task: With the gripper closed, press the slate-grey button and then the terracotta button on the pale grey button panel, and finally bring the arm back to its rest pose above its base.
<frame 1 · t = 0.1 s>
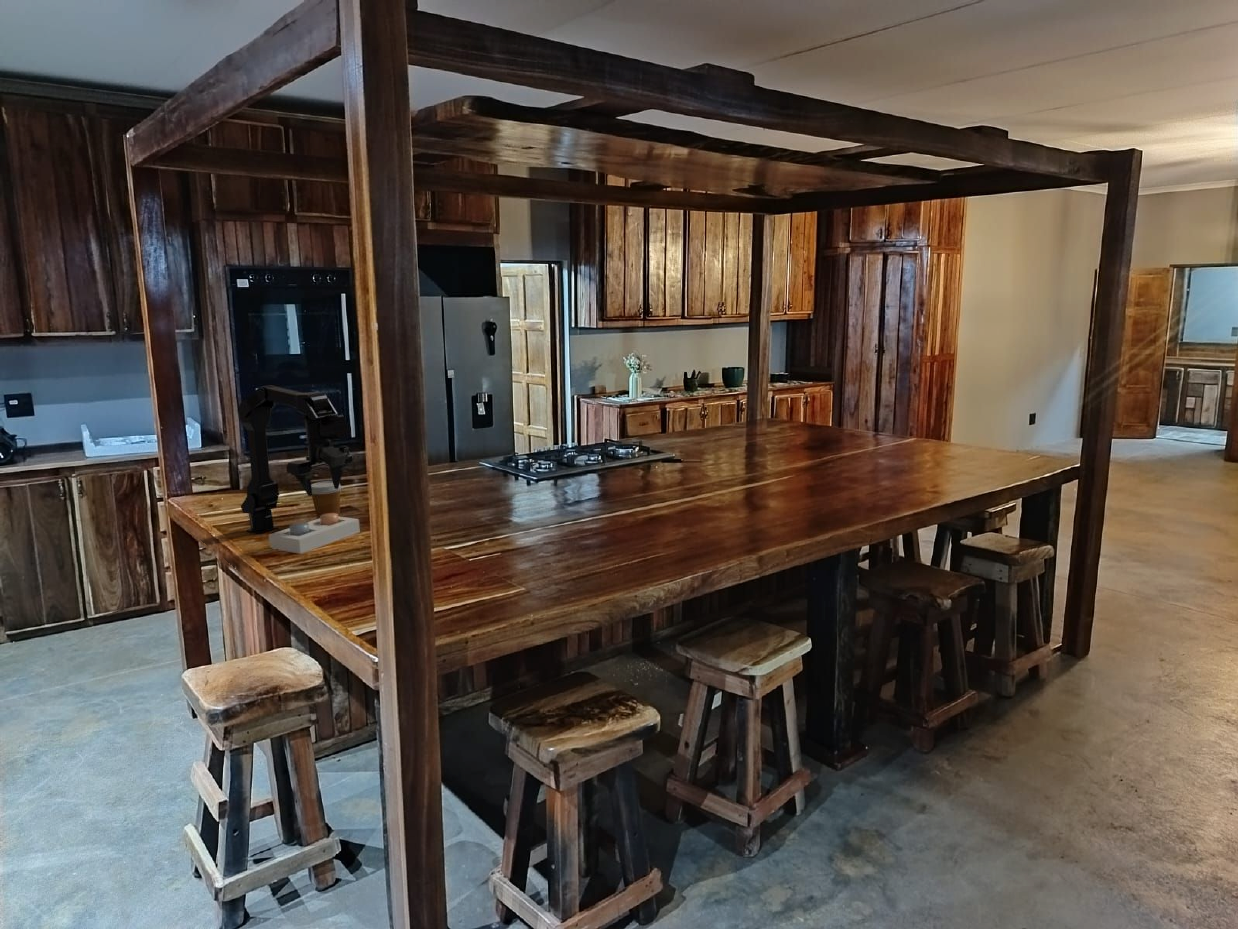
hand: (323, 492, 237), 14 cm above the table, tool pointing down, fingers open, 9 cm apart
terracotta button: (329, 520, 245), point 5 cm above the table, slide at 0.0 cm
button panel: (316, 540, 241), on the table
slate-grey button: (299, 530, 235), point 5 cm above the table, slide at 0.0 cm
disposable coffee cup: (329, 522, 260), on the table
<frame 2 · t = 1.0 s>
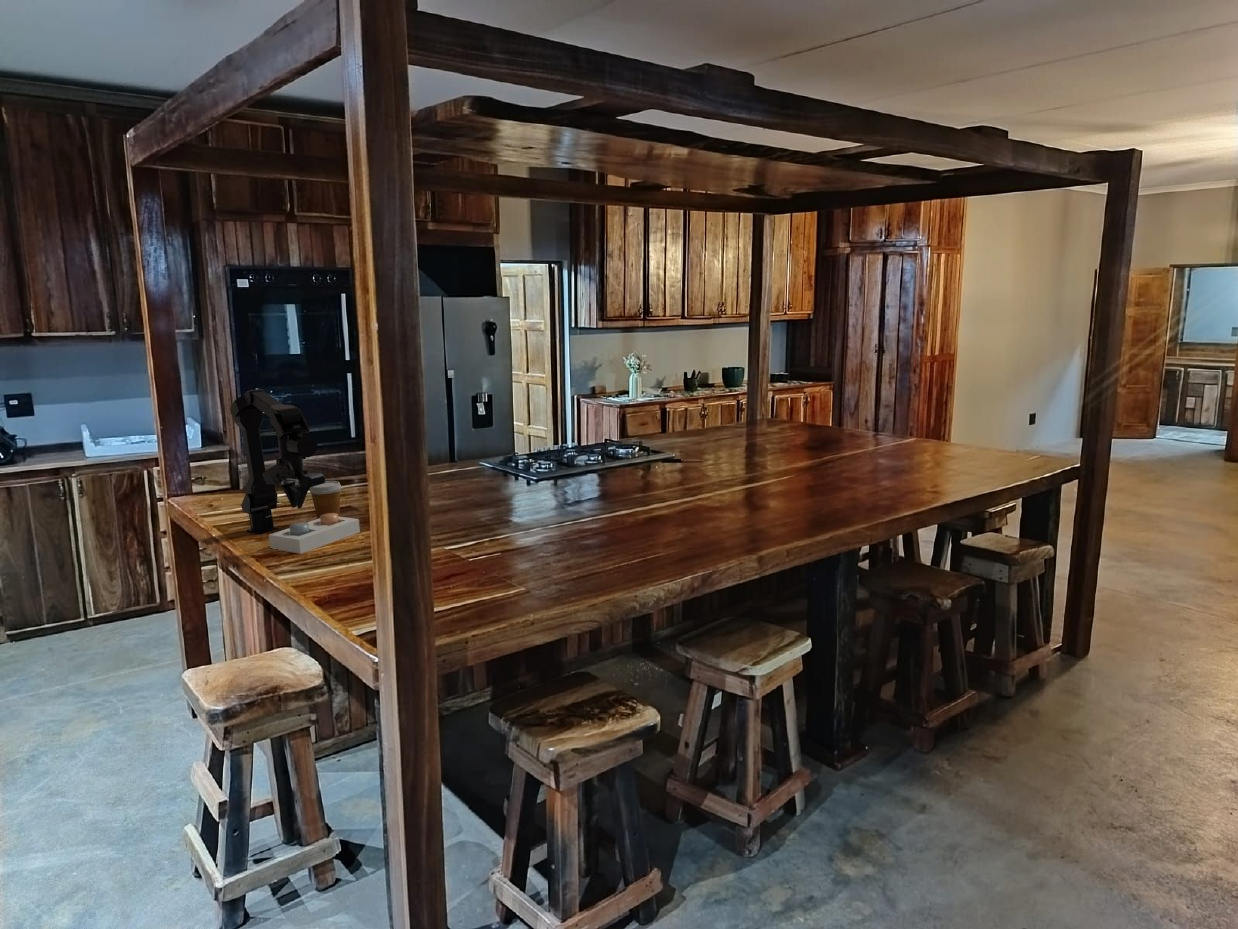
hand: (296, 507, 234), 11 cm above the table, tool pointing down, fingers closed
nothing on the table moved.
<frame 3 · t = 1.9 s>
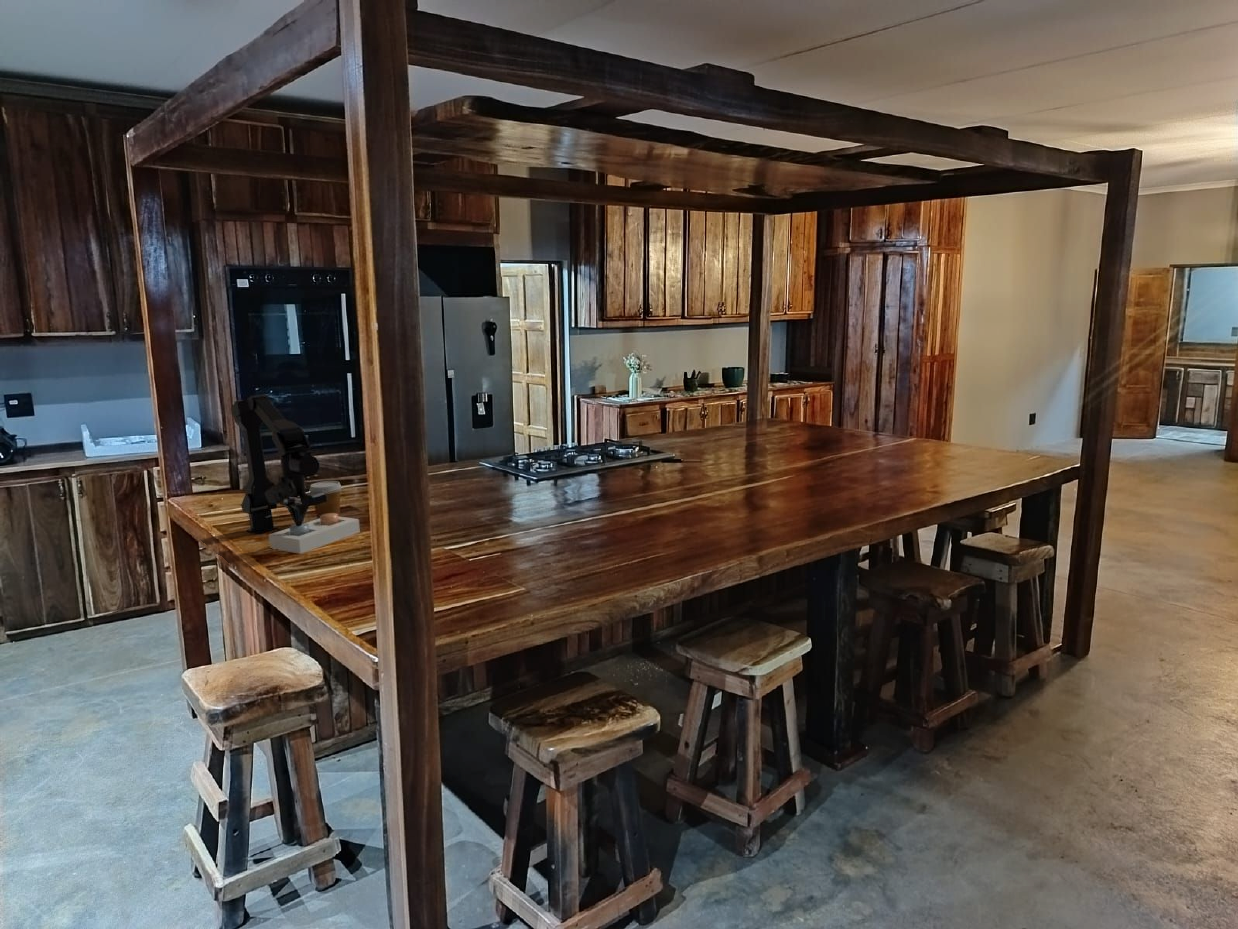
hand: (298, 525, 235), 6 cm above the table, tool pointing down, fingers closed, pressing on slate-grey button
slate-grey button: (299, 531, 235), point 4 cm above the table, slide at 0.2 cm, touching gripper
everything else where it was.
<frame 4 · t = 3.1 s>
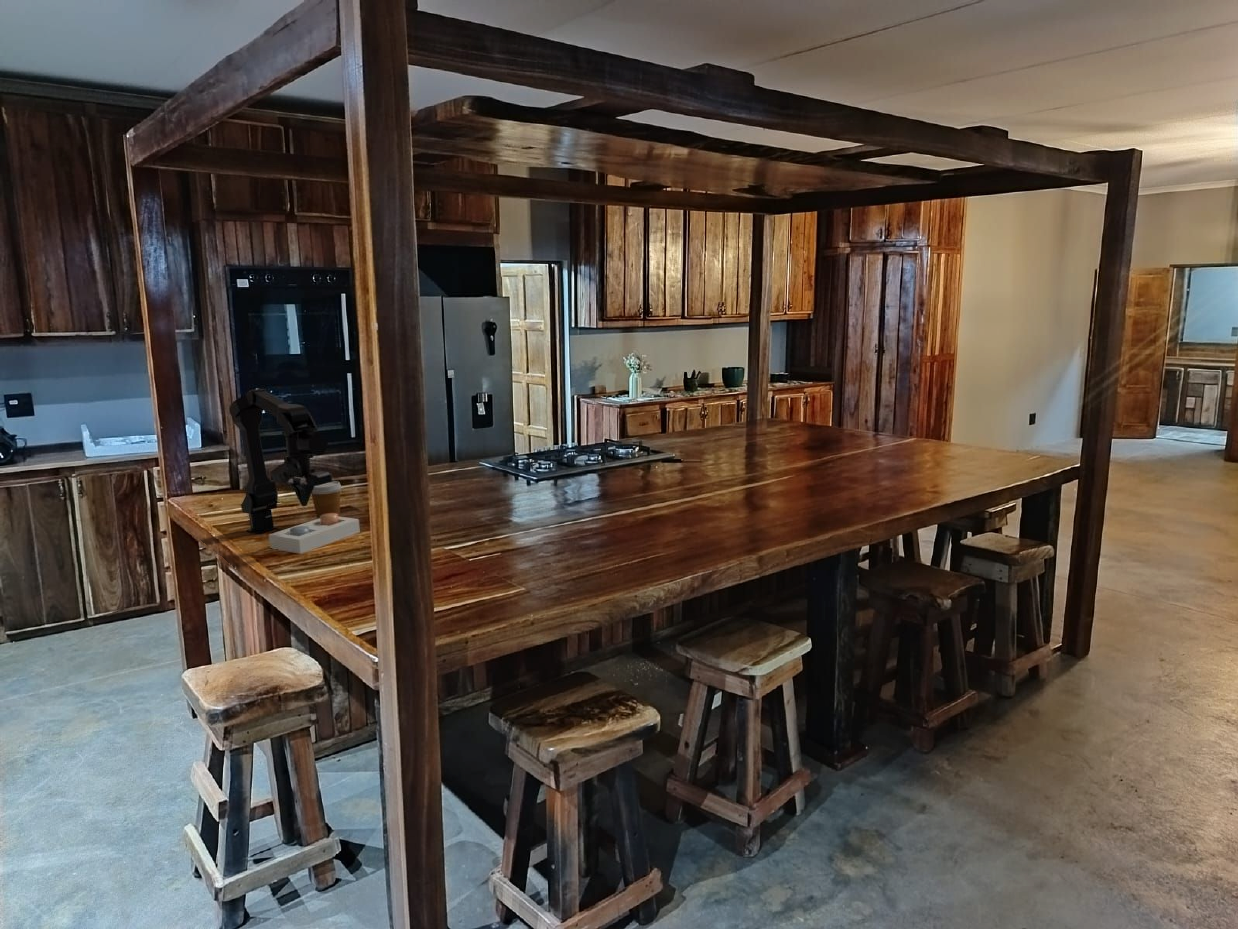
hand: (304, 506, 236), 11 cm above the table, tool pointing down, fingers closed
slate-grey button: (299, 533, 235), point 3 cm above the table, slide at 1.0 cm
everything else where it was.
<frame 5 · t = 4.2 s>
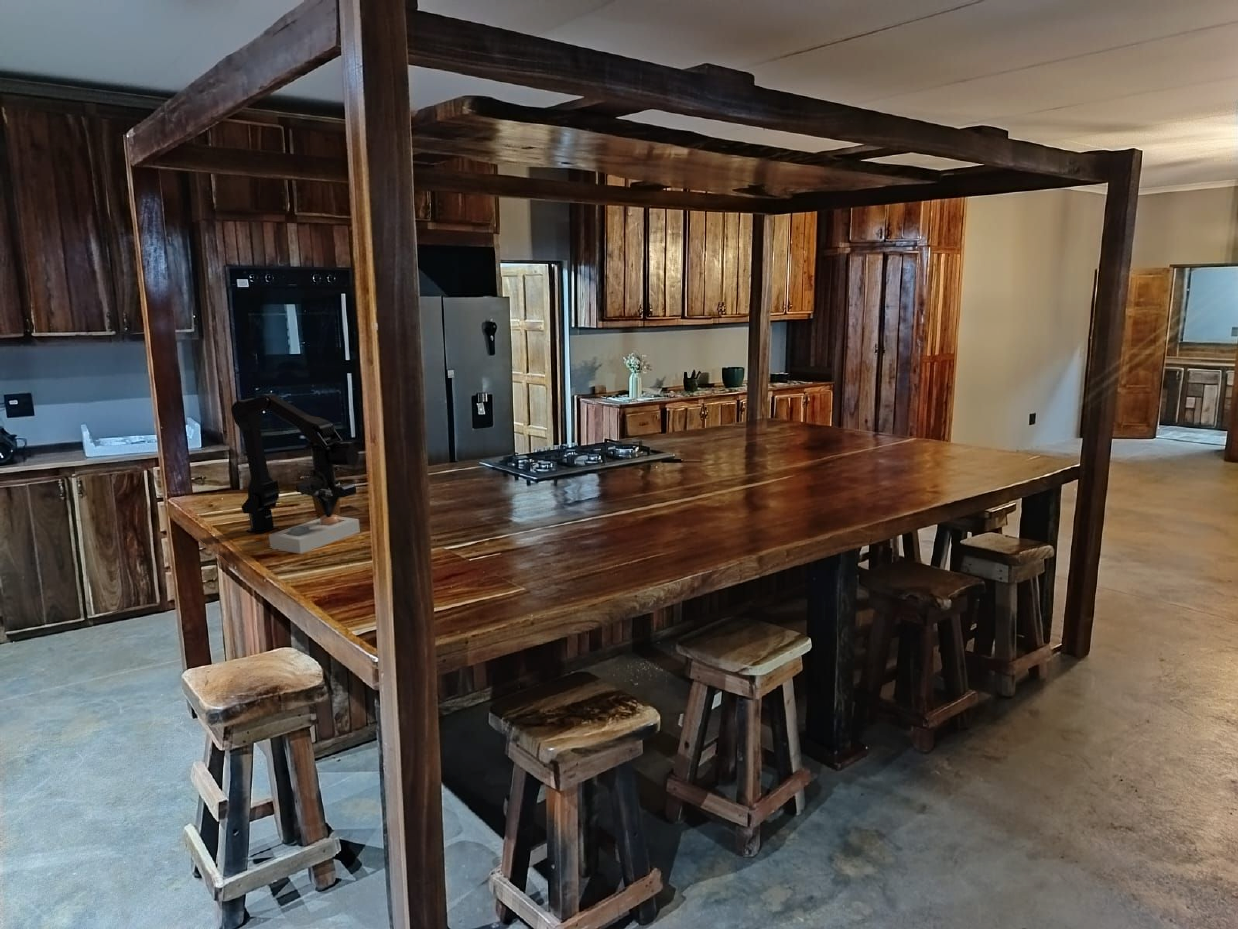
hand: (328, 516, 245), 6 cm above the table, tool pointing down, fingers closed, pressing on terracotta button
terracotta button: (329, 521, 245), point 4 cm above the table, slide at 0.5 cm, touching gripper
everything else where it was.
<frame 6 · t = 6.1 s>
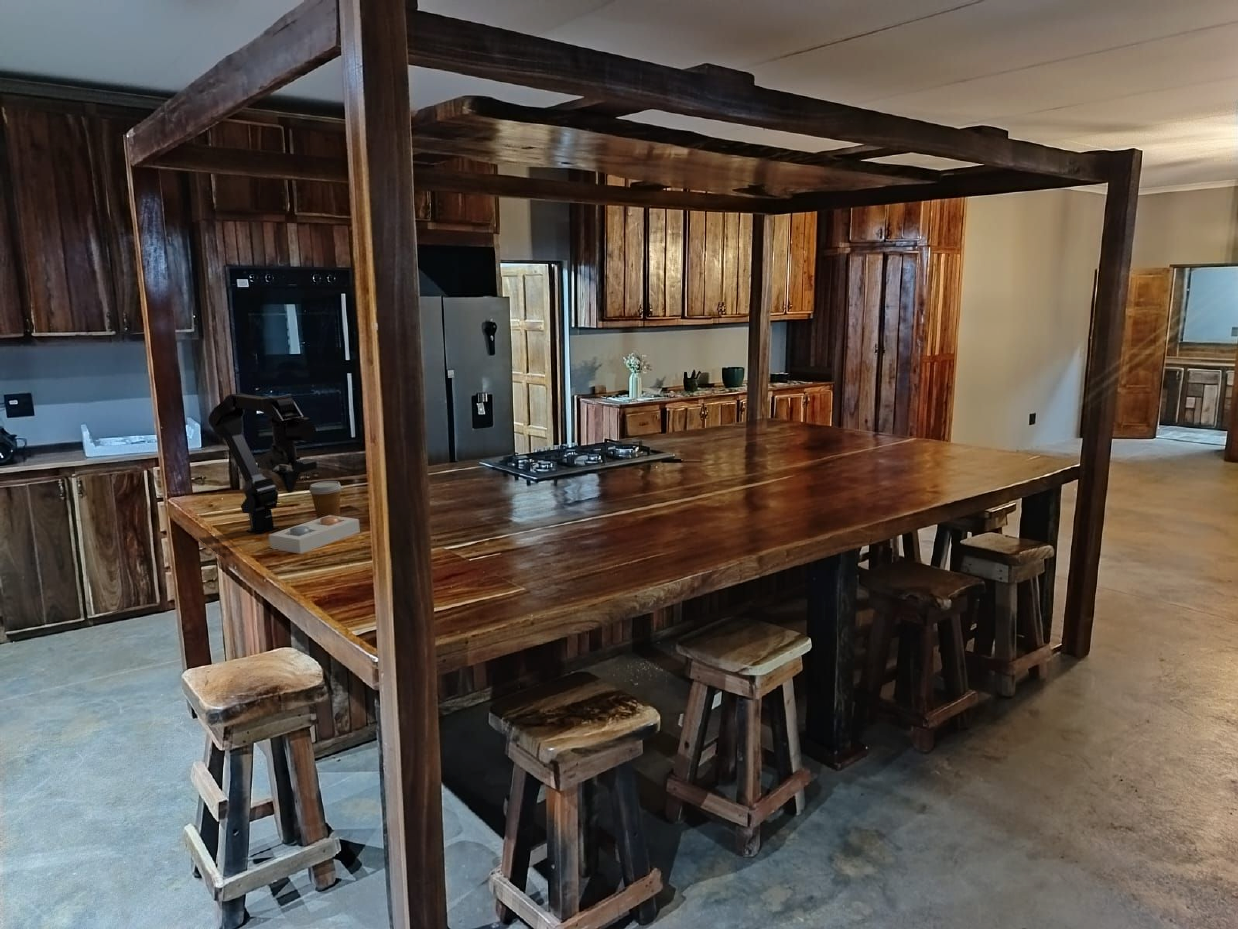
hand: (290, 492, 244), 13 cm above the table, tool pointing down, fingers closed
terracotta button: (329, 523, 245), point 3 cm above the table, slide at 1.0 cm
everything else where it was.
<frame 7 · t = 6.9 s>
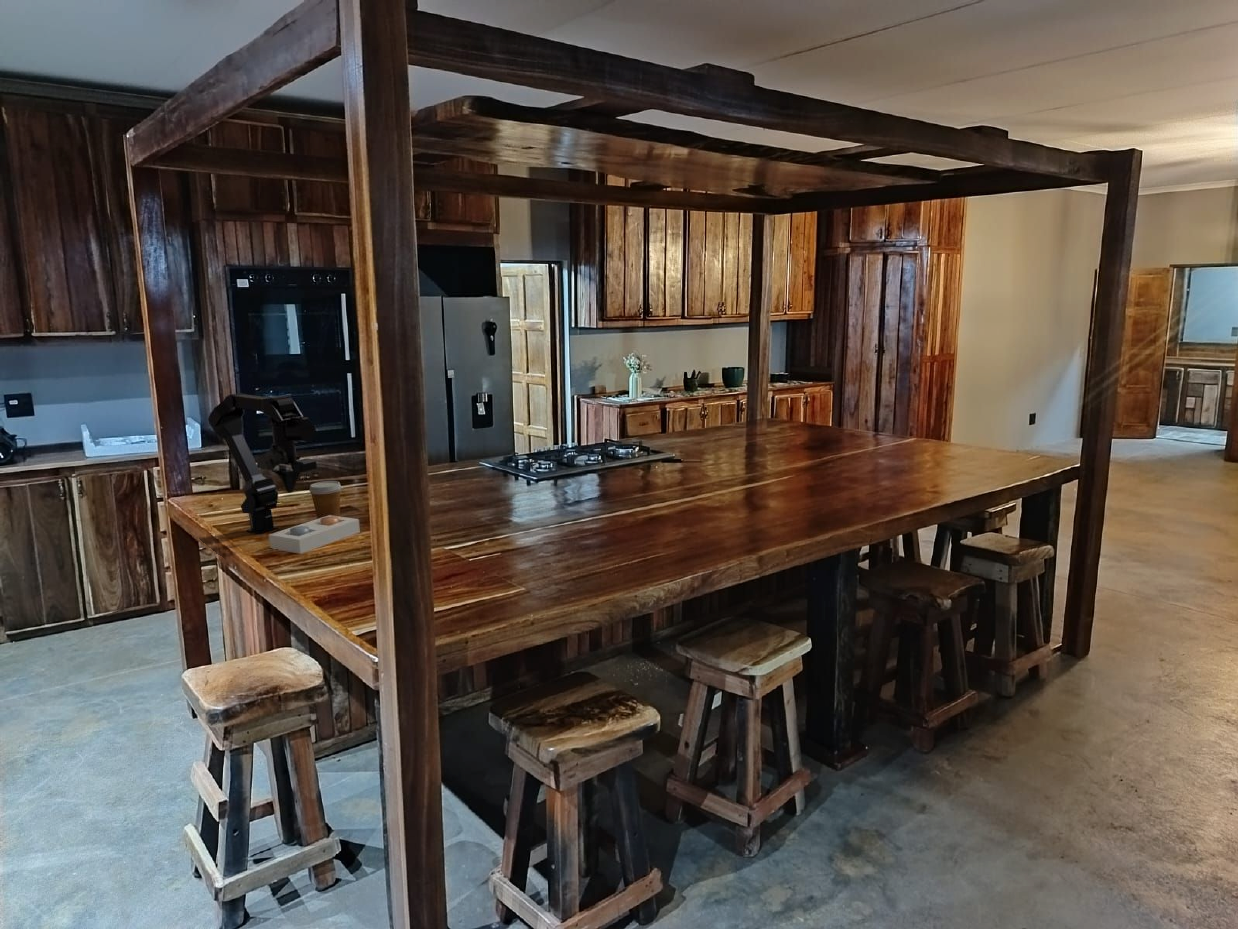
hand: (290, 492, 244), 13 cm above the table, tool pointing down, fingers closed
nothing on the table moved.
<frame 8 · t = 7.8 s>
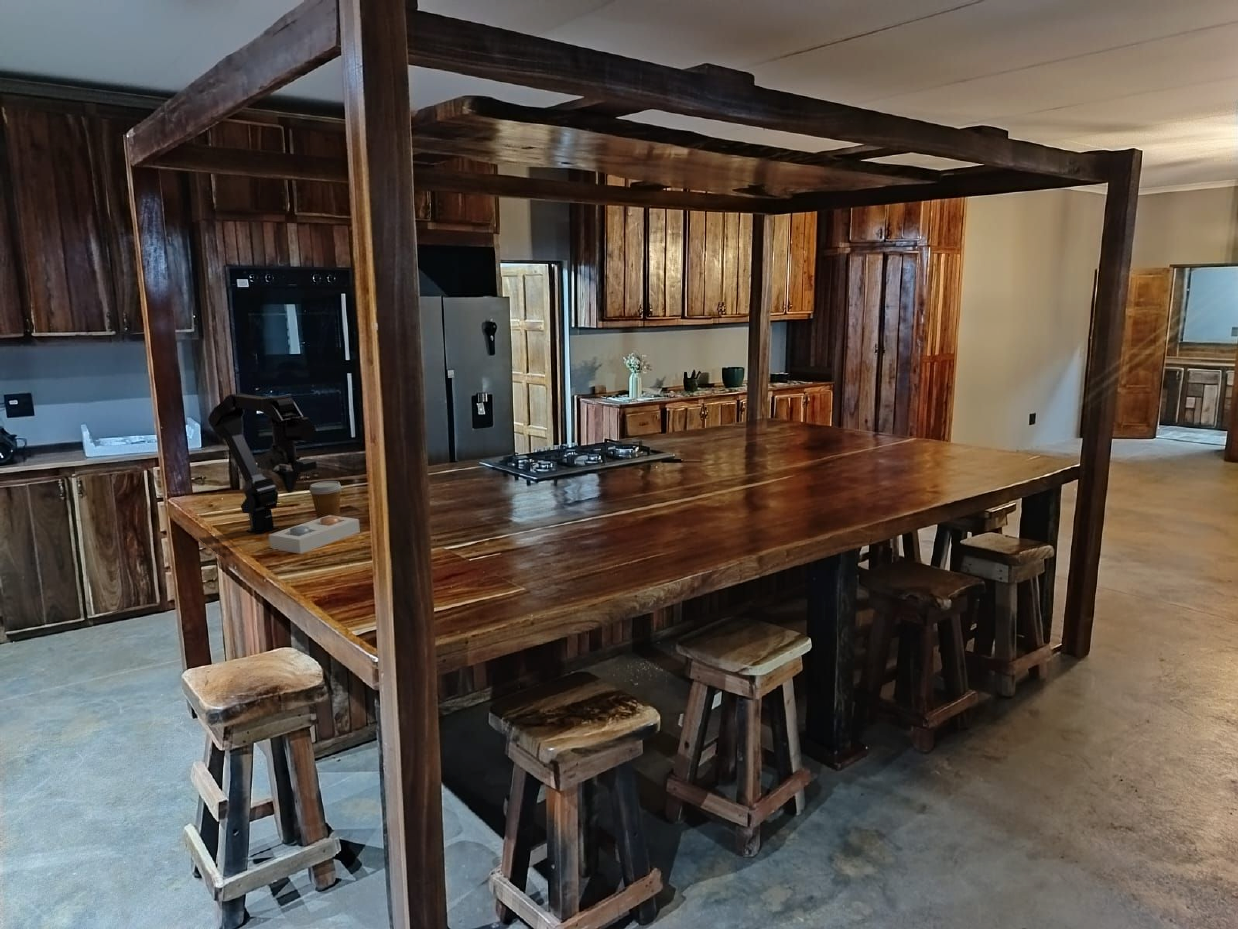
hand: (290, 492, 244), 13 cm above the table, tool pointing down, fingers closed
nothing on the table moved.
at the end: slate-grey button slide at 1.0 cm; terracotta button slide at 1.0 cm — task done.
